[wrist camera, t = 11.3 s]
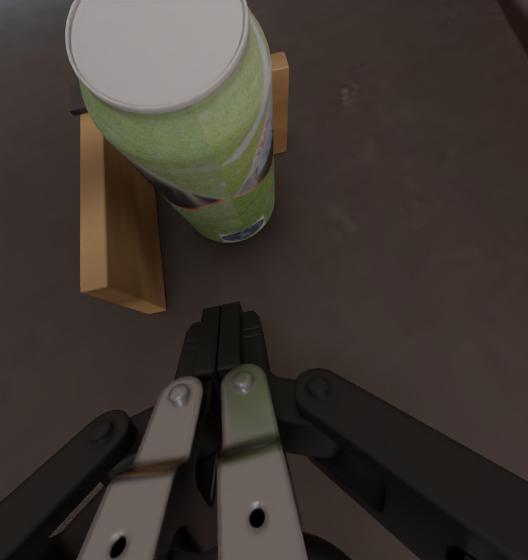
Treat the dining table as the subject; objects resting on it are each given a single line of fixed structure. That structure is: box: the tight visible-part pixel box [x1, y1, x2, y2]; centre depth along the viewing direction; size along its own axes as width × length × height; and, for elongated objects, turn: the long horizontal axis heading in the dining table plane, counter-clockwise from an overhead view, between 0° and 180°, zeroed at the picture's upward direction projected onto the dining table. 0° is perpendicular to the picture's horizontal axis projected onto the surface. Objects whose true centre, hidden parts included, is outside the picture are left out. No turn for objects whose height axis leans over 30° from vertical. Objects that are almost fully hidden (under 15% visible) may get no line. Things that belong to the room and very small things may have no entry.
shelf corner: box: [70, 52, 289, 314], centre depth 15 cm, size 12×12×6 cm
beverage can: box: [65, 0, 275, 243], centre depth 13 cm, size 6×7×12 cm
